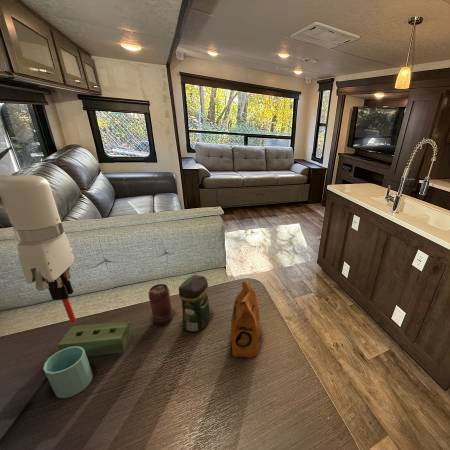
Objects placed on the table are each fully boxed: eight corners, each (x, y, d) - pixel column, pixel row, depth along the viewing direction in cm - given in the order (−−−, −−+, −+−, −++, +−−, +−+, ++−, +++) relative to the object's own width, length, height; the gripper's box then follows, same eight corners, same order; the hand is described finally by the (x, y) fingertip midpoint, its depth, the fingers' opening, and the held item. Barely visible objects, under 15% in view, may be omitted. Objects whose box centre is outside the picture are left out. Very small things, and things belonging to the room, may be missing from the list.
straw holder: (124, 352, 77) (120, 338, 75) (63, 359, 73) (57, 344, 71) (132, 334, 83) (129, 320, 81) (77, 340, 79) (71, 326, 77)
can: (149, 321, 89) (143, 290, 83) (165, 311, 94) (160, 281, 88) (160, 329, 86) (155, 297, 81) (176, 317, 91) (172, 287, 86)
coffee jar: (194, 311, 95) (190, 270, 88) (213, 315, 94) (211, 274, 87) (179, 330, 86) (173, 287, 79) (200, 334, 85) (195, 291, 78)
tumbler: (47, 400, 63) (35, 375, 59) (66, 372, 70) (56, 348, 66) (83, 395, 65) (73, 370, 61) (98, 368, 72) (90, 344, 68)
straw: (69, 323, 65) (52, 279, 60) (71, 320, 66) (55, 277, 61) (74, 322, 66) (58, 279, 60) (77, 319, 67) (61, 276, 61)
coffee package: (227, 360, 78) (225, 305, 69) (233, 329, 89) (232, 278, 80) (259, 359, 79) (261, 305, 70) (261, 329, 90) (263, 279, 81)
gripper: (43, 218, 61) (63, 279, 69) (-11, 248, 48) (22, 320, 55) (79, 218, 63) (95, 277, 71) (37, 246, 50) (63, 316, 57)
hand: (63, 296), depth 63 cm, fingers closed on straw, 1 cm apart
